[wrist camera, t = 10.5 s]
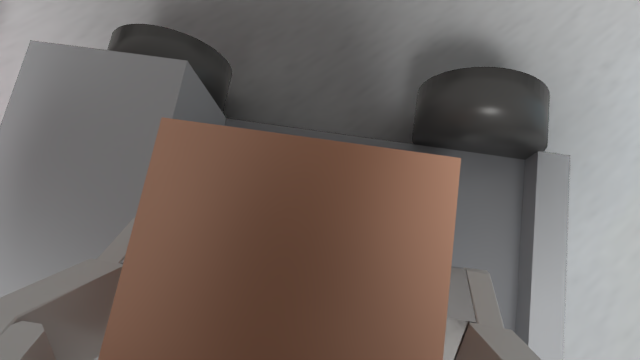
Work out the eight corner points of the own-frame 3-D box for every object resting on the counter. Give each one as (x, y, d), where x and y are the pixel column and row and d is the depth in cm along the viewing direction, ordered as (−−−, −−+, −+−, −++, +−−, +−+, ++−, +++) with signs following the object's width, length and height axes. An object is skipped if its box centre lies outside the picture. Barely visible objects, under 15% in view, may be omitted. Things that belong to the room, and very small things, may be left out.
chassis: (13, 455, 18) (-169, 550, 11) (124, 75, 21) (35, -13, 15) (519, 564, 16) (636, 746, 10) (541, 131, 20) (634, 58, 13)
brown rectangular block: (224, 355, 14) (76, 440, 6) (255, 204, 15) (161, 117, 7) (380, 384, 14) (429, 515, 6) (398, 226, 15) (461, 158, 7)
